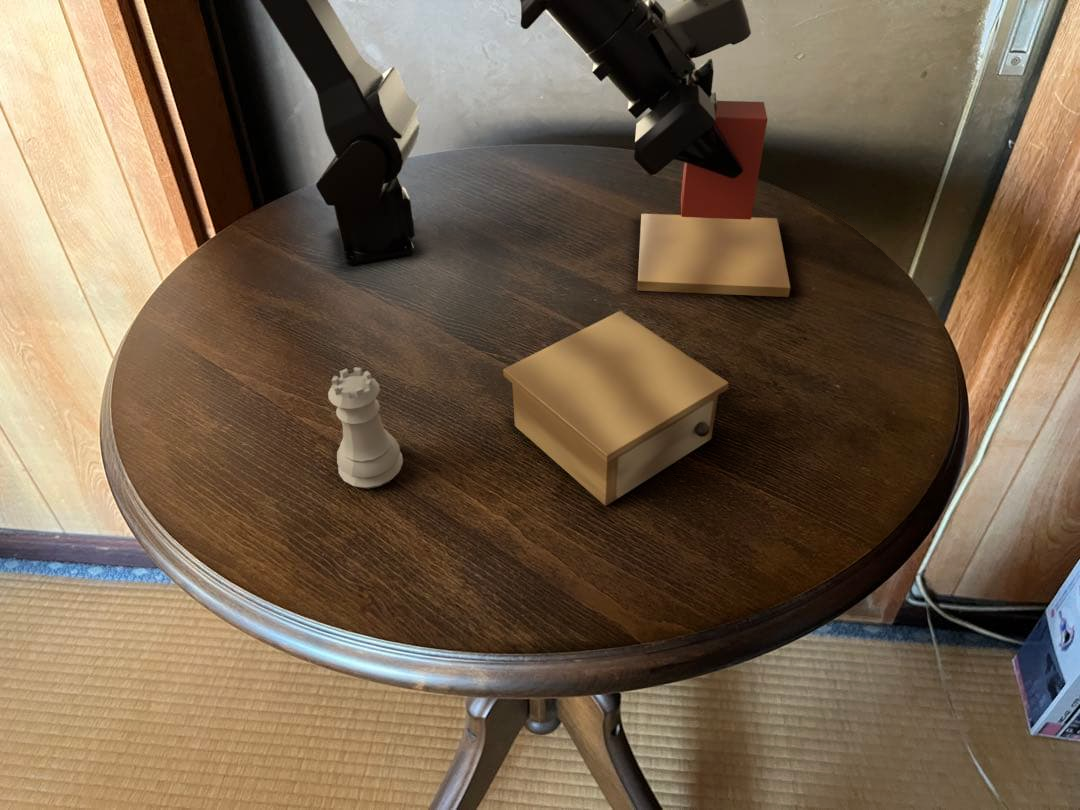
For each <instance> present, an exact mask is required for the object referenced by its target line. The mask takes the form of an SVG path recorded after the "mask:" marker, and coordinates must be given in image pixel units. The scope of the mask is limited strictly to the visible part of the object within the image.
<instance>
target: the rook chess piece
mask: <svg viewBox="0 0 1080 810" xmlns="http://www.w3.org/2000/svg"><path fill="white" fill-rule="evenodd" d="M339 375H340V377H339V376H337V375H333V377H332V378H331V380H330V381H331V387H330V388H329V390H328V395H327V396H328V397H327V399H328V400H329V401H330V403H331V404H332V405H333V406H335V407H336V409H335V412H336V413H335V414H336V417H337V418H338V420H340V421H341V425H342V439H341V441H340V443H339V447H338V449H337V450H336V465H337V469H338V475H339V476H340V477H341V479H342V480H343V482H345V483H347V484H349V485H351V486H353V487H355V488H358V489H366V490H370V489H373V488H379V487H381V486H382V487H383V486H384V485H386V484H388V483H389V482H391V481H392V480H393V479H395V477H396V476H397V475H398V474H399V473H400V471H401V469H402V466H403V464H404V459H403V453H402V452H401V449H400V444H399V442H398V441H397V440H396V439H395V437H394V436H393V435H392V434H391V433H390V432H389V431H388V430H387V429H385V428H384V424H383V422H382V420H381V418H380V415H379V411H380V409H381V406H380V405H381V404H380V401H378V399H377V397H378V395H379V394H380V392H381V390H380V389H381V388H380V383H378V382H377V380H376V379H375V378H373V377H372V373H370V372H369V371H368V370H366V371H364V372H363V368H362V367H356V366H355V367H353V372H352V373H349V370H348V368H347V367H346V368H344V369H342V370H340V371H339Z"/></svg>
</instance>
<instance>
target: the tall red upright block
mask: <svg viewBox="0 0 1080 810" xmlns="http://www.w3.org/2000/svg"><path fill="white" fill-rule="evenodd" d="M716 101H717V112H716V115H715V119H716V121H715V123H716V125H717V126H718V128H719V130H720V131H721V133H722V134H723V136H724V138H725V139H726V141H727V143H728V144H729V146H730V147H731V149H732V151H733V152H734V154H735V156H736V157H737V159H738V161H739V162H740V164H741V166H742V168H743V172H742V173H741V174H740V175H738V176H737V177H736V178H734V179H732V178H729V177H726V176H723V175H720V174H718V173H715V172H712V171H709V170H706V169H703V168H700V167H697V166H694V165H691V164H688V163H685V162H683V172H682V183H681V192H680V194H681V195H680V215H681V217H696V218H721V219H746V220H751V217H753V216H752V215H753V210H754V204H755V198H756V192H757V186H758V179H759V174H760V167H761V161H762V155H763V149H764V143H765V139H766V138H765V137H766V132H767V125H768V114H767V110H766V105H765V102H764V101H747V100H746V101H745V100H742V101H741V100H716Z"/></svg>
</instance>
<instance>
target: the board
mask: <svg viewBox="0 0 1080 810" xmlns="http://www.w3.org/2000/svg"><path fill="white" fill-rule="evenodd" d="M639 231H640V233H639V251H638V256H639V257H638V269H637V270H638V273H637V287H636V288H637V289H636V290H637V291H640V292H641V291H642V292H659V293H660V292H662V293H663V292H664V293H683V294H684V293H685V294H707V295H710V294H711V295H731V296H733V295H734V296H753V297H777V298H789V297H790V293H791V282H790V278H789V277H790V276H789V272H788V267H787V261H786V257H785V252H784V247H783V246H784V245H783V241H782V236H781V231H780V225H779V221H778V218H777V217H753V216H752V217H751V220H746V219H721V218H696V217H681V214H666V213H665V214H664V213H662V214H661V213H641V215H640V230H639Z"/></svg>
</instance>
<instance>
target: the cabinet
mask: <svg viewBox="0 0 1080 810" xmlns="http://www.w3.org/2000/svg"><path fill="white" fill-rule="evenodd" d="M502 372H503V373H502V374H503V377H504V378H505V379H506V380H508V381H509V382H510V383H511V386H512V403H513V413H514V414H513V417H514V427H516V429H518V430H519V431H520V432H521V433H522V434H523V435H524V436H525V437H527V439H529V440H530V441H531V442H532V443H533V444H534V445H536V446H537V447H538V448H539V449H540V450H541V451H543V452H544V453H545V454H546V455H547V456H548V457H549V458H550V459H551V460H553V461H554V462H555V463H556V464H557V465H559V466H560V467H561V468H562V469H563V470H564V471H565V472H566V473H567V474H569V476H571V477H572V478H573V479H574V480H575V481H576V482H578V483H579V484H580V485H581V486H582V487H583V488H584V489H585V490H587V492H589V493H590V494H591V495H593V497H594V498H596V499H597V500H598V501H599V502H600V503H601V504H603V505H604V506H606V507H607V506H608V505H610V504H611V503H613V502H615V501H616V500H617V499H619V498H621V497H622V496H624V495H625V494H627V493H629V492H631V491H632V490H634V489H635V488H637V487H639V485H641V484H643V483H644V482H646V481H648V480H649V479H650V478H652V477H654V476H655V475H657V474H658V473H660V472H661V471H664V470H665V469H667V468H668V467H669V466H672V464H675V463H676V462H677V461H679V460H680V459H682V458H684V457H685V456H687V455H688V454H690V453H692V452H693V451H695V450H697V449H698V448H700V447H701V446H703V445H704V444H706V443H707V442H709V441H711V440H712V437H713V430H714V425H715V423H714V422H715V417H716V411H717V404H718V398H719V395H721V394H722V393H724V392H725V391H727V390H728V389H729V383H730V382H728V381H727V380H725V379H724V378H722V377H721V376H719V375H718V374H716V373H715V372H713V371H712V370H710V369H709V368H707V367H706V366H704V365H703V364H701V363H700V362H698V361H697V360H695V359H694V358H692V357H691V356H689V355H688V354H686V353H685V352H683V351H682V350H680V349H679V348H677V347H675V346H674V345H672V344H671V343H670V342H668V341H666V339H663V338H662V337H660V336H659V335H657V334H656V333H654V332H653V331H651V330H650V329H649V328H647V327H646V326H644V325H642V324H640V323H639V321H638V322H637V321H636V320H635V319H633V318H631V317H630V316H629V315H627V314H626V313H624V312H623V311H621V310H619V311H617V312H615V313H613V314H611V315H609V316H606V317H605V318H603V319H601V320H599V321H597V322H595V323H593V324H591V325H589V326H587V327H585V328H583V329H581V330H579V331H577V332H575V333H573V334H571V335H569V336H567V337H565V338H563V339H561V340H559V341H557V342H555V343H553V344H551V345H549V346H547V347H545V348H543V349H541V350H539V351H537V352H535V353H533V354H531V355H529V356H527V357H525V358H523V359H521V360H519V361H517V362H515V363H513V364H511V365H509V366H507V367H505V368H504V369H503V370H502Z"/></svg>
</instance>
